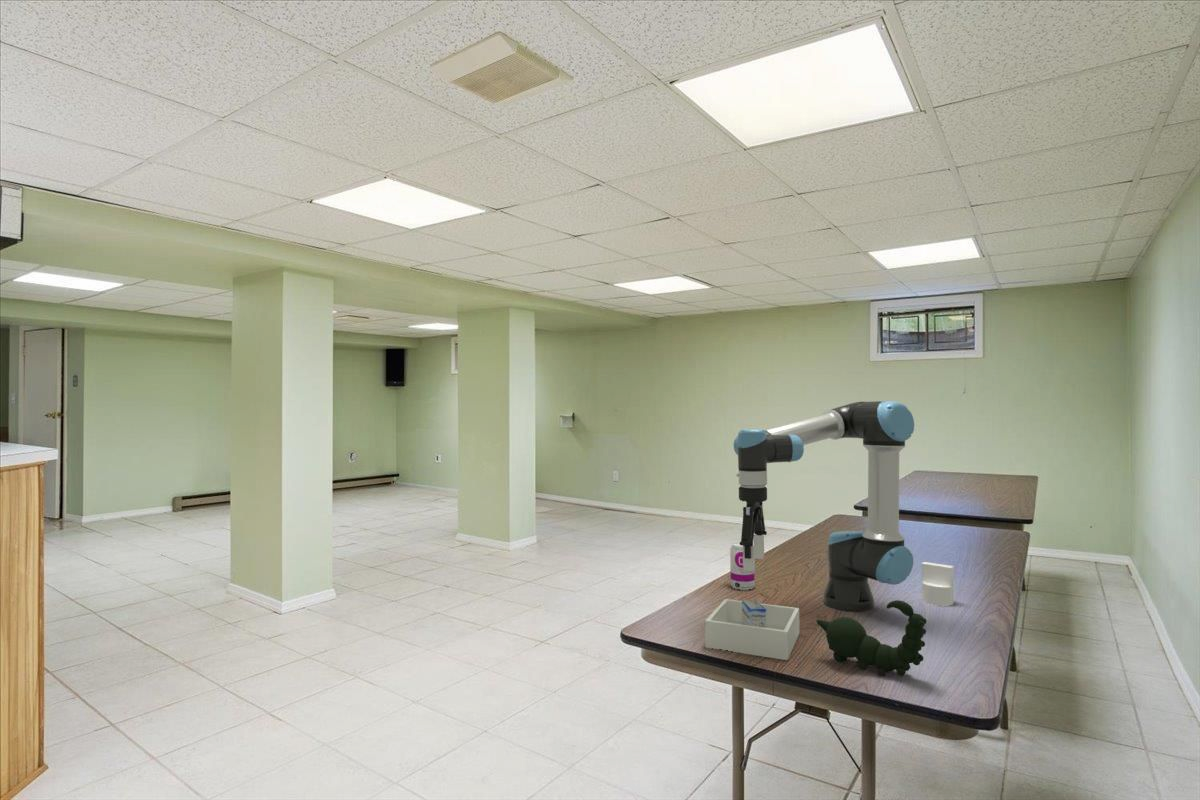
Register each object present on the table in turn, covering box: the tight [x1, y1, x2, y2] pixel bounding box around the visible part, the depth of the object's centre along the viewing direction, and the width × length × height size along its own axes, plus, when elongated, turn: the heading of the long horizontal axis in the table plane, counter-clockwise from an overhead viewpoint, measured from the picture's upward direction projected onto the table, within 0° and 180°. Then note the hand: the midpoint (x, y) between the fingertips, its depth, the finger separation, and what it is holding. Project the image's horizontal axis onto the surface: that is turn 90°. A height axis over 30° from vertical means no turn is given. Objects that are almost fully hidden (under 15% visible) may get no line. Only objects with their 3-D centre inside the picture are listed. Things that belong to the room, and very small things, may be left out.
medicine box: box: [741, 599, 766, 628], centre depth 175 cm, size 8×4×9 cm, turn 5°
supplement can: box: [729, 542, 756, 591], centre depth 226 cm, size 8×8×15 cm
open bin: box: [704, 598, 800, 661], centre depth 175 cm, size 21×21×7 cm
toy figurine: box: [815, 599, 928, 677], centre depth 156 cm, size 9×19×25 cm
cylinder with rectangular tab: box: [921, 561, 955, 607], centre depth 208 cm, size 9×9×12 cm
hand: (754, 564), depth 175 cm, fingers open, 13 cm apart
